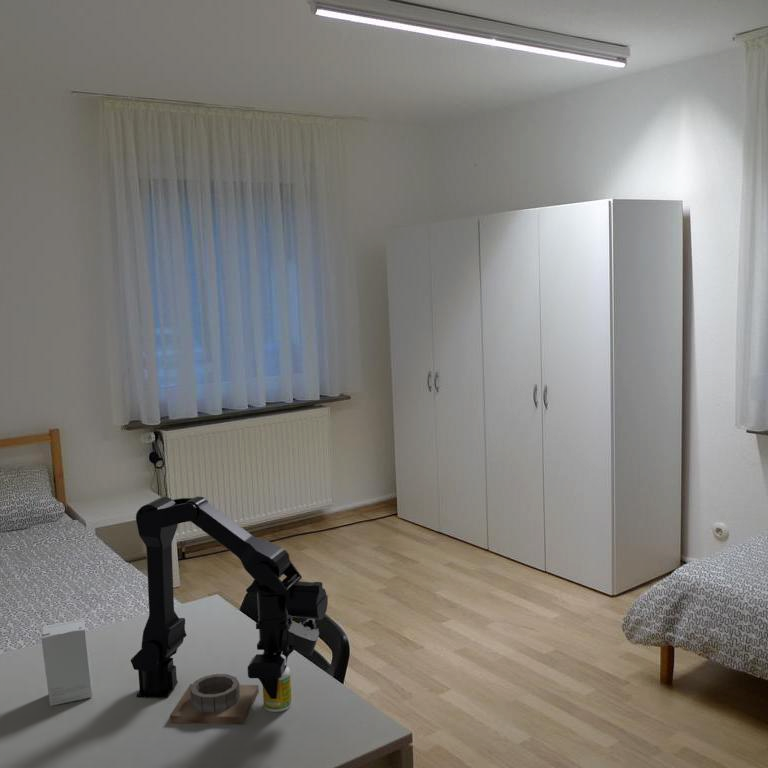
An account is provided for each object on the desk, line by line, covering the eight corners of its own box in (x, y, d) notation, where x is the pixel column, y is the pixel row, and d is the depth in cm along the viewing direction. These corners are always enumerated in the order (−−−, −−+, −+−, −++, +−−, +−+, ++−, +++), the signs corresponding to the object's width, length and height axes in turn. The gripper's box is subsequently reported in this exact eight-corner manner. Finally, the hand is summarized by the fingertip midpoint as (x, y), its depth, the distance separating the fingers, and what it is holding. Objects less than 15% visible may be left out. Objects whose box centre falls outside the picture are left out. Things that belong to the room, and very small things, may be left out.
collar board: (170, 722, 152) (168, 700, 152) (190, 690, 164) (189, 669, 164) (243, 724, 151) (241, 701, 151) (258, 692, 163) (257, 670, 162)
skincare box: (92, 685, 168) (86, 617, 166) (92, 699, 162) (86, 628, 160) (48, 693, 165) (42, 624, 163) (47, 707, 159) (41, 636, 157)
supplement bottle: (286, 714, 154) (284, 665, 153) (259, 711, 155) (257, 663, 154) (295, 699, 160) (293, 652, 158) (269, 697, 161) (266, 651, 159)
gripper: (305, 635, 145) (309, 717, 147) (322, 595, 164) (325, 668, 166) (244, 635, 146) (249, 716, 148) (268, 595, 165) (272, 667, 167)
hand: (277, 690), depth 157 cm, fingers closed on supplement bottle, 5 cm apart
